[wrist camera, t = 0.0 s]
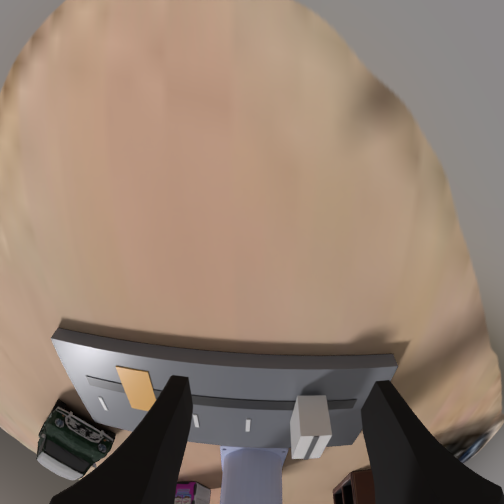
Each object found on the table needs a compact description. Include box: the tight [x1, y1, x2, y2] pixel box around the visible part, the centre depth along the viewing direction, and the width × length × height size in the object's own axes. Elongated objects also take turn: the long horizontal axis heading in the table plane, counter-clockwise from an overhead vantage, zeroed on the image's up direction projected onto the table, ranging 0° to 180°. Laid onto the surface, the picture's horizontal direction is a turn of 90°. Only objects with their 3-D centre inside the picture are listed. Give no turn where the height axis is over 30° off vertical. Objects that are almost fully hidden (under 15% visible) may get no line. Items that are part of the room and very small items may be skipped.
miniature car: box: [36, 400, 115, 480], centre depth 30 cm, size 9×18×8 cm, turn 139°
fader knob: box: [290, 395, 332, 460], centre depth 22 cm, size 4×2×4 cm, turn 177°
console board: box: [51, 328, 398, 448], centre depth 26 cm, size 14×30×2 cm, turn 87°
